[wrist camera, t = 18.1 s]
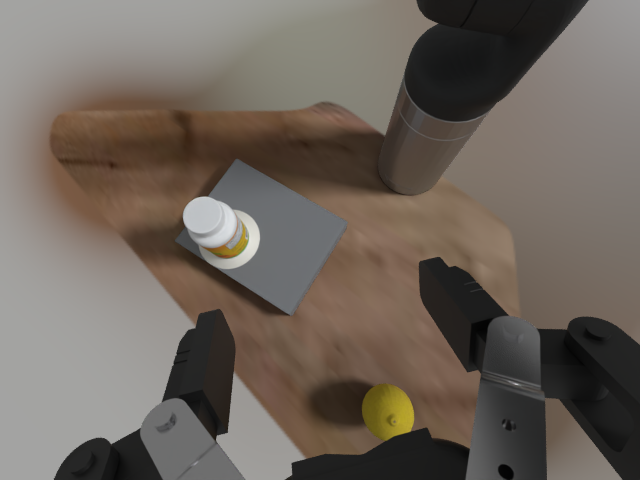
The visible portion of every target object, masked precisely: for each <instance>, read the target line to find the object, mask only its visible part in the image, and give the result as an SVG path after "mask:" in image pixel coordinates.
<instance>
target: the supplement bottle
mask: <svg viewBox="0 0 640 480" xmlns="http://www.w3.org/2000/svg"><path fill="white" fill-rule="evenodd" d="M183 221H184V224H185V226H186V227H187V229H188V232H189V235H190V237H191V238H192V239H193V241H195V242H196V243H197V244H198V245H200V246H201V247H203V248H204V249H206V250H207V251H209V252H211V253H212V254H214V255H215V256H217V257H219V258H222V259H232V258H235V257H237V256H239V255H241V254H242V253H243V252H244V251H245V249H246V248H247V246H248V243H249V232H248V229H247V227H246V226H245V224H244V223H243V222H242V221H241V220H240V218H239V217H238V216H237V215H236V213H235V212H234V211H233V210H232V209H231V208H230V207H229V206H228V205H227V204H225V203H223V202H221V201H216V200H214V199H213V198H210V197H198V198H195V199H194V200H192V201H191V202H189V203H188V204H187V206H186V207H185V209H184V212H183Z"/></svg>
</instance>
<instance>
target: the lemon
mask: <svg viewBox="0 0 640 480" xmlns="http://www.w3.org/2000/svg"><path fill="white" fill-rule="evenodd" d="M362 415H363V418H364V422H365V424H366V426H367V427H368V429H369V430H370V431H371V432H372V433H373V434H374V435H375V436H376V437H378V438H379V439H381V440H384V441H387V440H388V439H390V438H392V437H394V436H396V435H400V434H404V433H408V432H410V430H411V429H412V426H413V422H414V411H413V407H412V404H411V402H410V400H409V398H408V397H407V395H406V394H405V393H404V392H403V391H402V390H401V389H399V388H398V387H396V386H394V385H391V384H379V385H376V386H374V387H372V388H371V389H370V390H369V391H368V392H367V394H366V395H365V397H364V400H363V404H362Z"/></svg>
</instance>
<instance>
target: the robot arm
mask: <svg viewBox="0 0 640 480" xmlns="http://www.w3.org/2000/svg"><path fill="white" fill-rule="evenodd" d="M587 2H588V0H417V4H418V7H419V9H420V11H421V12H422V14H423V15H424V16H425V17H426V18H428V19H430V20H432V21H434V22H436V23H439V24H437V25H435V26H433V27H432V28H430V29H429V30H427V31H426V32H425V33H424V34H423V35H422V36H421V37H420V38H419V39H418V40H417V42H416V43H415V45H414V47H413V49H412V51H411V53H410V56H409V59H408V62H407V66H406V69H405V72H404V76H403V79H402V82H401V85H400V89H399V93H398V96H397V99H396V102H395V106H394V109H393V112H392V116H391V119H390V122H389V126H388V129H387V132H386V135H385V139H384V142H383V145H382V148H381V152H380V155H379V158H378V172H379V174H380V177H381V179H382V180H383V182H384V183H385V184H386V185H387V186H388V187H389V188H391V189H392V190H394V191H396V192H398V193H401V194H406V195H416V194H421V193H424V192H426V191H428V190H429V189H431V188H432V187H433V186H434V185H435V184H436V182H437V181H438V180H439V178H440V177H441V176H442V174H443V173H444V172H445V171H446V169H447V168H448V167H449V165H450V164H451V162H452V161H453V160H454V159H455V157H456V156H457V155H458V153H459V152H460V151H461V149H462V148H463V146H464V145H465V144H466V143H467V141H468V140H469V139H470V137H471V136H472V135H473V133H474V132H475V131H476V129H477V128H478V127H479V125H480V124H481V123H482V121H483V119H484V118H485V117H486V115H487V114H488V113H489V112H490V110H491V109H492V108H493V107H494V105H495V104H496V103H497V102H499V101H500V100H502V99H503V98H504V97H506V96H507V95H508V94H509V93H510V91H511V90H512V89H513V88H514V87H515V86H516V84H517V83H518V82H519V81H520V80H521V78H522V77H523V76H524V75H525V74H526V72H527V71H528V70H529V69H530V68H531V67H532V66H533V64H534V63H535V62H536V61H537V60H538V59H539V58H540V57H541V55H542V54H543V53H544V52H545V51H546V50H547V49H548V47H549V46H550V45H551V44H552V43H553V42H554V41H555V40H556V39H557V37H558V36H559V35H560V34H561V33H562V32H563V31H564V30H565V28H566V27H567V26H568V24H570V22H571V21H572V20H573V19H574V18H575V16H576V15H577V14H578V13H579V12H580V10H581V9H582V8H583V7H584V6H585V4H586V3H587ZM419 283H420V296H421V299H422V302H423V304H424V306H425V308H426V309H427V311H428V312H429V314H430V315H431V317H432V318H433V320H434V322H435V323H436V325H437V326H438V328H439V329H440V331H441V332H442V334H443V335H444V337H445V339H446V340H447V342H448V343H449V345H450V346H451V348H452V349H453V351H454V352H455V354H456V356H457V357H458V359H459V360H460V362H461V363H462V365H463V366H464V368H465V369H466V371H467V373H468V372H471V371H475V370H479V372H480V373H481V378H480V385H479V391H478V398H477V405H476V412H475V419H474V425H473V432H472V439H471V446H470V449H469V448H467V447H465V446H463V445H461V444H458V443H456V442H452V441H449V440H444V439H438V438H432V437H431V435H430V433H429V430H428V428H423V429H419V430H415V431H412V432H408V433H404V434H400V435H396V436H394V437H392V438H390V439H388V440H387V441H385V442H383V443H382V444H380V445H378V446H377V447H375V448H373V449H372V450H370V451H368V452H367V453H365V454H362V455H342V454H324V455H320V456H316V457H312V458H308V459H305V460H301V461H297V462H293V463H292V476H290V477H288V478H287V479H285V480H547V464H546V422H545V398H556V399H560V401H561V402H562V403H563V405H564V406H565V407H566V408H567V410H568V411H569V412H570V414H571V415H572V416H573V417H574V419H575V420H576V421H577V422H578V424H579V425H580V426H581V428H582V429H583V430H584V431H585V433H586V434H587V435H588V436H589V438H590V439H591V440H592V441H593V443H594V444H595V445H596V447H597V448H598V449H599V450H600V452H601V453H602V454H603V455H604V457H605V458H606V459H607V460H608V462H609V463H610V464H611V466H612V467H613V468H614V469H615V471H616V472H617V473H618V474H619V476H620V477H621V478H622V480H640V345H639V344H638V343H637V342H636V341H634V340H633V339H632V338H631V337H630V336H628V335H627V334H626V333H625V332H624V331H622V330H621V329H620V328H618V327H617V326H616V325H614V324H612V323H610V322H608V321H605V320H602V319H599V318H594V317H578V318H575V319H573V320H572V321H570V323H569V325H568V328H567V330H562V329H537V328H535V327H534V326H533V325H532V324H531V323H529V322H527V321H525V320H523V319H521V318H518V317H513V316H509V315H508V314H507V313H506V312H505V311H504V310H503V309H502V308H501V307H500V306H499V305H498V304H497V303H496V302H495V300H494V299H493V298H492V297H491V296H490V295H489V294H488V293H487V292H486V291H485V290H483V288H482V287H481V286H480V285H479V284H478V283H476V281H475V279H474V278H473V277H472V276H471V275H470V274H469V273H468V272H466V271H464V270H462V269H460V268H458V267H456V266H453V267H448V266H447V265H446V263H445V262H444V261H443V260H442V259H441V258H440V257H436V258H431V259H427V260H423V261H420V262H419ZM234 362H235V342H234V338H233V335H232V333H231V331H230V328H229V326H228V324H227V322H226V319H225V317H224V315H223V313H222V311H221V310H220V309H217V310H213V311H208V312H204V313H200V314H199V316H198V320H197V324H196V328H194V329H191V330H188V331H187V333H186V334H185V335H184V337H183V338H182V339H181V341H180V343H179V346H178V350H177V355H176V356H175V360H174V365H173V366H172V370H171V373H170V376H169V380H168V383H167V387H166V390H165V393H164V397H163V400H162V403H160V404H159V405H157V406H156V407H155V408H154V409H152V410H151V411H150V413H149V414H148V415H147V416H146V418H145V419H144V421H143V423H142V426H141V428H140V429H138V430H137V431H135V432H133V433H131V434H129V435H128V436H126V437H124V438H122V439H120V440H118V441H117V442H115V443H113V444H110V442H109V441H108V440H106V439H105V438H95V439H92V440H89V441H87V442H85V443H83V444H82V445H80V446H79V447H78V448H76V449H75V450H74V451H73V452H72V453H70V455H69V456H68V457H67V458H66V459H65V460H64V462H63V463H62V464H61V466H60V468H59V470H58V471H57V474H56V476H55V478H54V480H245V479H244V477H243V476H242V474H241V473H240V472H239V470H238V469H237V468H236V467H235V465H234V464H233V463H232V461H231V460H230V459H229V457H228V456H227V455H226V454H225V452H224V451H223V450H222V448H221V447H220V445H219V444H218V443H217V442H216V436H217V435H221V434H225V433H228V423H229V413H230V403H231V393H232V383H233V372H234Z"/></svg>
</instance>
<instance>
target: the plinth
mask: <svg viewBox="0 0 640 480" xmlns="http://www.w3.org/2000/svg"><path fill="white" fill-rule="evenodd" d="M208 197H210V198H213V199H214V200H216V201H221V202H223V203H225V204H227V205H228V206H229V207H230V208H231V209H232V210H233V211H234V212H235V213H236V215H237V216H238V217H239V218H240V220H241V221H242V222H243V223H244V224H245V226H246V227H247V229H248V232H249V243H248V246H247V248H246V249H245V251H244V252H243V253H242V254H241V255H239V256H237V257H235V258H232V259H222V258H219V257H217V256H215V255H214V254H212V253H211V252H209V251H207V250H206V249H204V248H203V247H201V246H200V245H198V244H197V243H196V242H195V241H193V239H192V238H191V237H190V235H189V232H188V229H187V227H186V226H185V228H184V229H183V230H182V232H181V233H180V234H179V236H178V237H177V238H176V240H175V242H177V243H178V244H180V245H181V246H183V247H185V248H186V249H188V250H189V251H191V252H192V253H194V254H195V255H197V256H199V257H200V258H202V259H203V260H205V261H206V262H208V263H209V264H211V265H213V266H214V267H216V268H217V269H219V270H220V271H222V272H223V273H225V274H227V275H228V276H230V277H231V278H233V279H234V280H236V281H237V282H239V283H241V284H242V285H244V286H245V287H247V288H248V289H250V290H251V291H253V292H255V293H256V294H258V295H259V296H261V297H262V298H264V299H265V300H267V301H269V302H270V303H272V304H273V305H275V306H276V307H278V308H280V309H281V310H283V311H284V312H286V313H287V314H289V315H291V316H292V315H293V314H294V312H295V311H296V309H297V307H298V306H299V304H300V302H301V301H302V299H303V298H304V296H305V294H306V293H307V291H308V290H309V288H310V286H311V285H312V283H313V282H314V280H315V278H316V277H317V275H318V273H319V272H320V270H321V269H322V267H323V265H324V264H325V262H326V261H327V259H328V257H329V256H330V254H331V253H332V251H333V249H334V248H335V246H336V244H337V243H338V241H339V240H340V238H341V236H342V235H343V233H344V232H345V230H346V228H347V223H348V222H347V221H345V220H343V219H342V218H340V217H338V216H336V215H335V214H333V213H331V212H329V211H328V210H326V209H324V208H322V207H321V206H319V205H317V204H315V203H314V202H312V201H310V200H308V199H307V198H305V197H303V196H301V195H300V194H298V193H296V192H294V191H293V190H291V189H289V188H287V187H286V186H284V185H282V184H280V183H279V182H277V181H275V180H273V179H272V178H270V177H268V176H266V175H265V174H263V173H261V172H259V171H258V170H256V169H254V168H252V167H251V166H249V165H247V164H245V163H244V162H242V161H240V160H238V159H237V158H236V160H235V161H234V162H233V164H232V165H231V166H230V168H229V169H228V170H227V172H226V173H225V174H224V176H223V177H222V178H221V180H220V181H219V182H218V184H217V185H216V186H215V188H214V189H213V190H212V192H211V193H210V194H209V196H208Z"/></svg>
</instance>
